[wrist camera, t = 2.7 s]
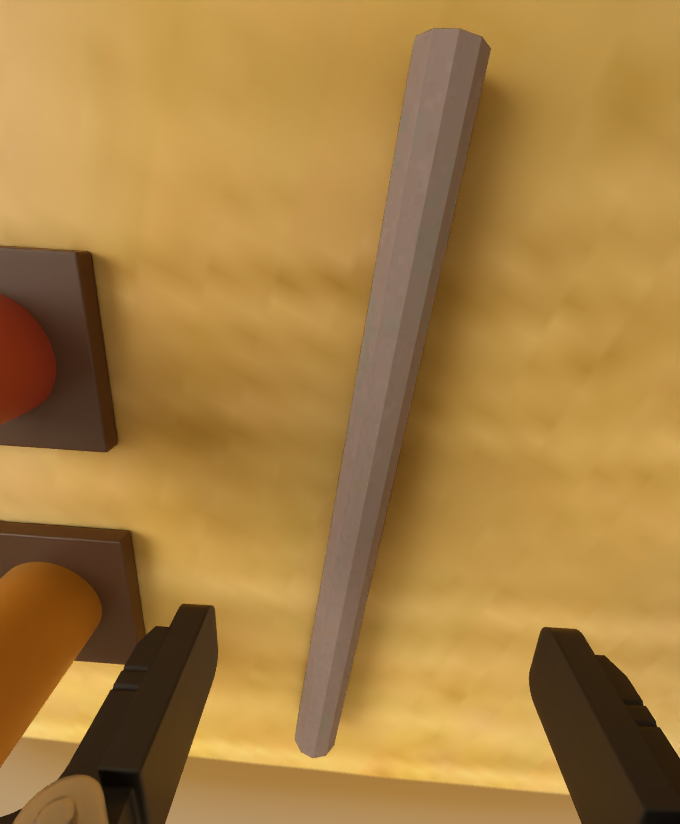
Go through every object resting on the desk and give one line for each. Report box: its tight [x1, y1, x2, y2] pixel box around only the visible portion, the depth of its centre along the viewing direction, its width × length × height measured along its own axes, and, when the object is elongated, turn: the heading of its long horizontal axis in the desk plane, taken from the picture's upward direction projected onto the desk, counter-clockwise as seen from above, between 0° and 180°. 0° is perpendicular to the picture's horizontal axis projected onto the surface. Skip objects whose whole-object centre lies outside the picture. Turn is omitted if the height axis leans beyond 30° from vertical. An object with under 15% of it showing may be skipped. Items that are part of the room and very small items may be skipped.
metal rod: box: [295, 28, 491, 758], centre depth 16 cm, size 2×27×2 cm, turn 171°
